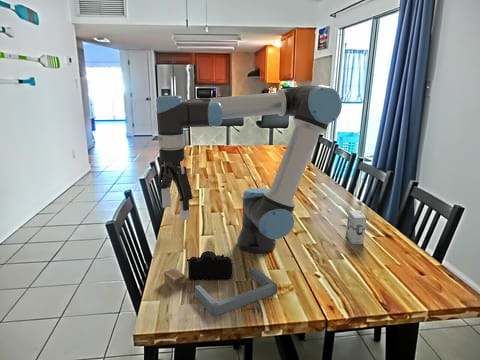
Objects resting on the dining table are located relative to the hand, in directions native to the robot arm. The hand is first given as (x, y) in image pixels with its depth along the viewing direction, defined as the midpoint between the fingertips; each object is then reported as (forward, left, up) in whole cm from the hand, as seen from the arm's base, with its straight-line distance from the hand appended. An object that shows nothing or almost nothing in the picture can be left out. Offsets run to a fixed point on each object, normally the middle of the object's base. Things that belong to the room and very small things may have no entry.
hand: (175, 213), depth 113 cm
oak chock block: (+3, +6, -22) cm, 23 cm away
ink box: (-74, +13, -22) cm, 78 cm away
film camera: (-9, +5, -22) cm, 25 cm away
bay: (-11, +21, -22) cm, 32 cm away
